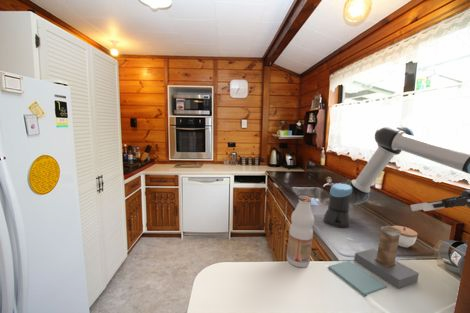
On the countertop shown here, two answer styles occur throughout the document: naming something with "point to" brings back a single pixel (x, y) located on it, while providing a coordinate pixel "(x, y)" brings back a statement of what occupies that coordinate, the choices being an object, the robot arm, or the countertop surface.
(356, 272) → the pad
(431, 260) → the countertop surface
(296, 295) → the countertop surface
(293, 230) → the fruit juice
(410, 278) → the block
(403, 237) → the lidded jar
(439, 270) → the countertop surface
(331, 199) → the robot arm
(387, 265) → the walnut plug
